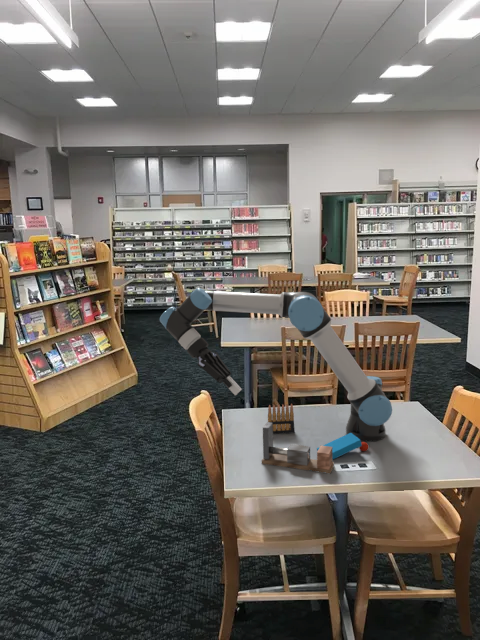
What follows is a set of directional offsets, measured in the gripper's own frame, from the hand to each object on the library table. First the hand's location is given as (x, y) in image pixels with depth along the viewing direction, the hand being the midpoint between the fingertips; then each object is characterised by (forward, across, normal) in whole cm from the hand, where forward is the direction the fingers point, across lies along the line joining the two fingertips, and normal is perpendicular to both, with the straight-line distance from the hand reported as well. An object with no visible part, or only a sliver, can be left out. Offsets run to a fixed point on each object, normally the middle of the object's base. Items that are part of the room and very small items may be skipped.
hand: (238, 392), depth 172 cm
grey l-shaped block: (+28, 0, -4) cm, 28 cm away
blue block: (+42, -14, +7) cm, 45 cm away
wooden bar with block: (+32, 0, -2) cm, 32 cm away
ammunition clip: (+23, -25, -12) cm, 36 cm away
